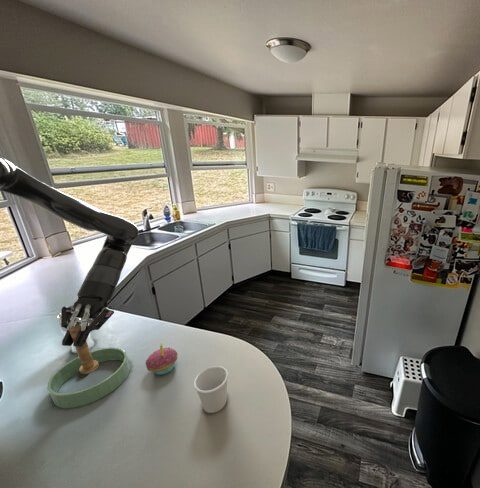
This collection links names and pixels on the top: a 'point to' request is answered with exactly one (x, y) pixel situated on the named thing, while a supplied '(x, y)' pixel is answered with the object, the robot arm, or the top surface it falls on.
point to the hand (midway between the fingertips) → (72, 345)
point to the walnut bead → (82, 374)
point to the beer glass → (64, 330)
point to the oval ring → (94, 391)
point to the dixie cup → (212, 388)
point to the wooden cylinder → (83, 353)
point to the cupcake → (161, 360)
